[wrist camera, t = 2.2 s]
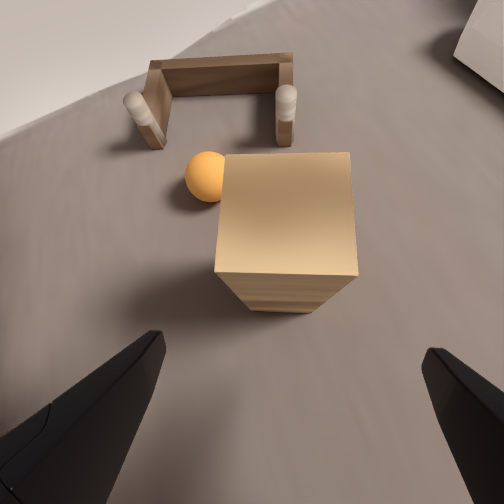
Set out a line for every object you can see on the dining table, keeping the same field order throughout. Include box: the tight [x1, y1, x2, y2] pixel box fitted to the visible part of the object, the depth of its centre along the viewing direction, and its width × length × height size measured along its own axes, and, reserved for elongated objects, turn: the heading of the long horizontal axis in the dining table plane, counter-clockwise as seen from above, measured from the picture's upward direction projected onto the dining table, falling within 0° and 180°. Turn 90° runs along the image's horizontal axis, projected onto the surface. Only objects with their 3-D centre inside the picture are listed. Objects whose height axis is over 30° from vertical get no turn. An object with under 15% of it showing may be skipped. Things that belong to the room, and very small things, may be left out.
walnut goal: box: [123, 53, 297, 149], centre depth 24 cm, size 8×14×5 cm, turn 87°
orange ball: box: [185, 151, 225, 202], centre depth 22 cm, size 4×4×4 cm
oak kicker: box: [214, 152, 358, 313], centre depth 15 cm, size 4×4×12 cm
